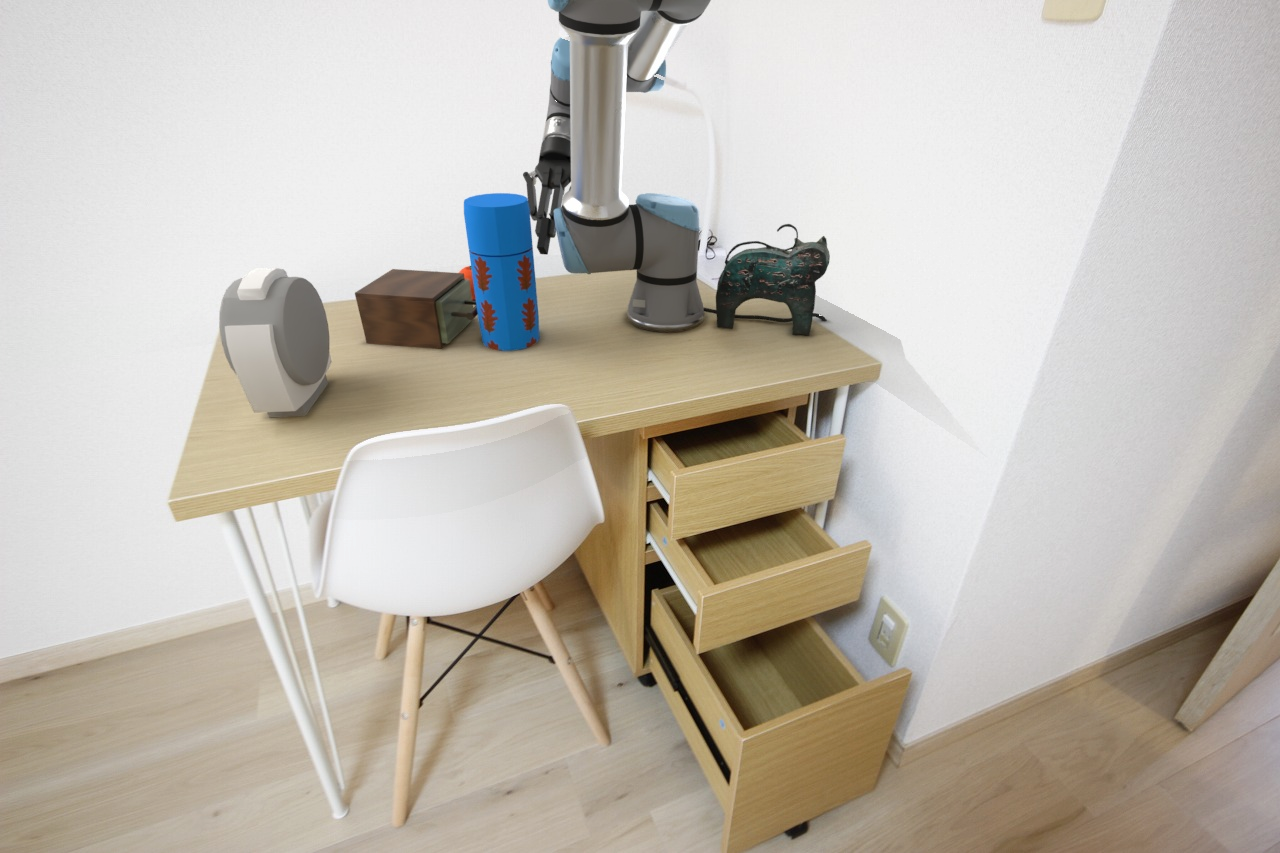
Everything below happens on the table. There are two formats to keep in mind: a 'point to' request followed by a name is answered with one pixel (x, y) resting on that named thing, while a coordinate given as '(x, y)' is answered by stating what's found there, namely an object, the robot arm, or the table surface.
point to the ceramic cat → (773, 280)
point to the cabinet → (404, 307)
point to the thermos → (503, 269)
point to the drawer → (455, 310)
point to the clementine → (468, 275)
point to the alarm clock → (276, 341)
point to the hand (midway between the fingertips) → (542, 250)
